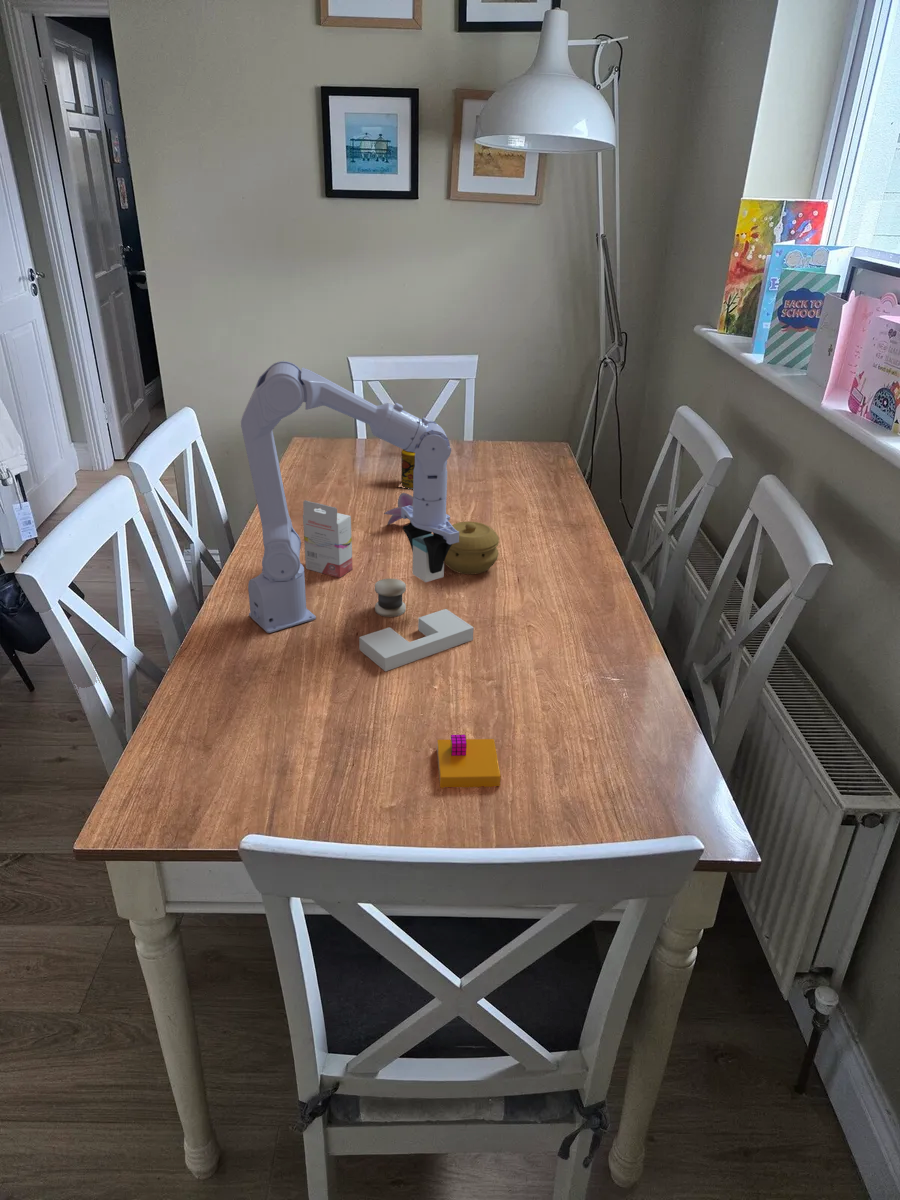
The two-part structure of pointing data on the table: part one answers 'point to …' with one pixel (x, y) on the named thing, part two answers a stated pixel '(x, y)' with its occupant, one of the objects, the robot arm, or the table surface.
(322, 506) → the ink cartridge box
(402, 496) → the lily
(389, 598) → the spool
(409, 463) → the condiment
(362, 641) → the notched board
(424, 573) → the teal and white block
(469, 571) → the pot
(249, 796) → the table surface
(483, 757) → the mustard square tile
